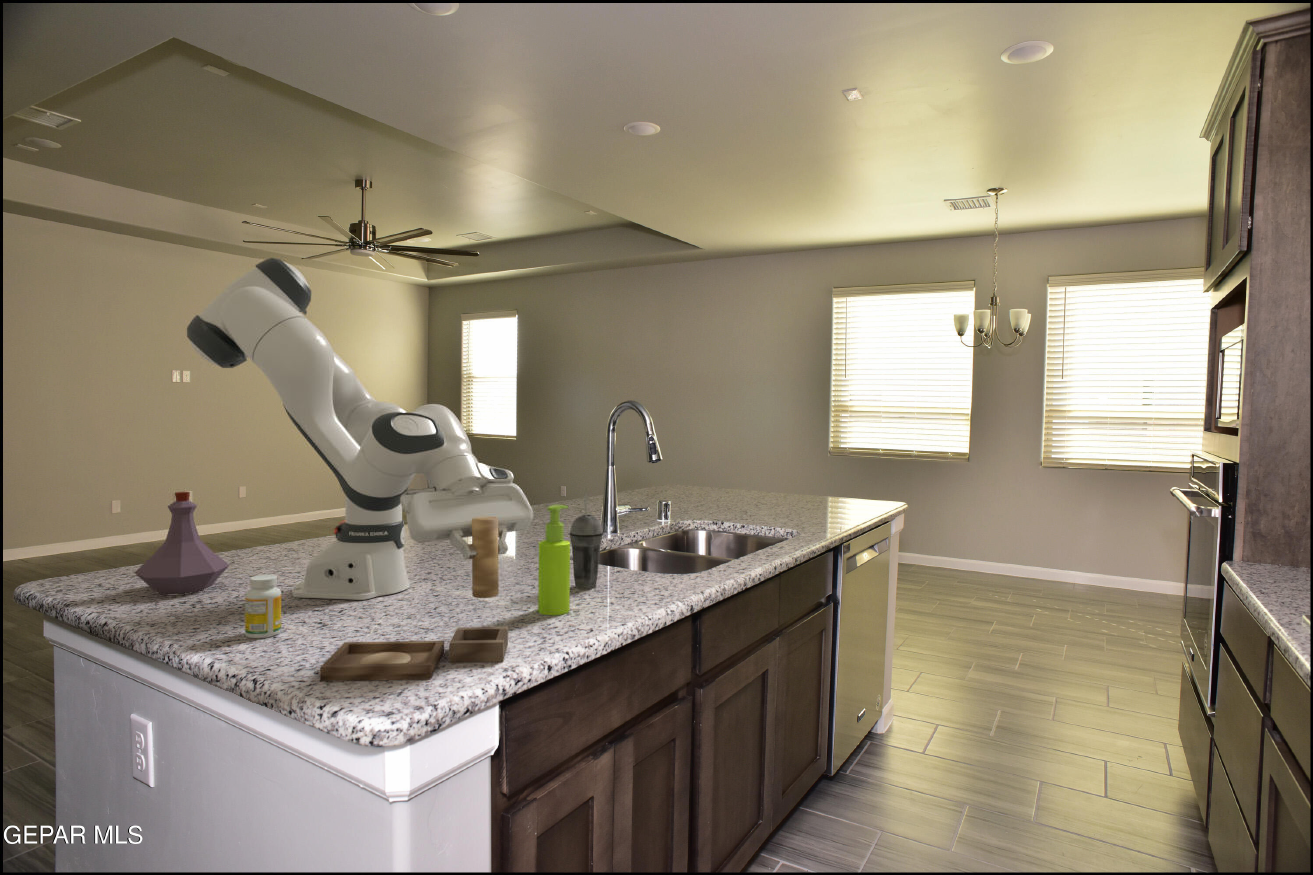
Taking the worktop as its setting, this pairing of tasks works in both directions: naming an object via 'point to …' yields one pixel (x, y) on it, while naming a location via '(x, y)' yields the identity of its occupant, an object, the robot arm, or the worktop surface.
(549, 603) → the soap dispenser
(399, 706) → the worktop surface
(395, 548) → the robot arm
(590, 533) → the beverage cup
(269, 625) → the supplement bottle
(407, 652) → the tray
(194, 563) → the flask
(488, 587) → the dowel
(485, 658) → the socket
